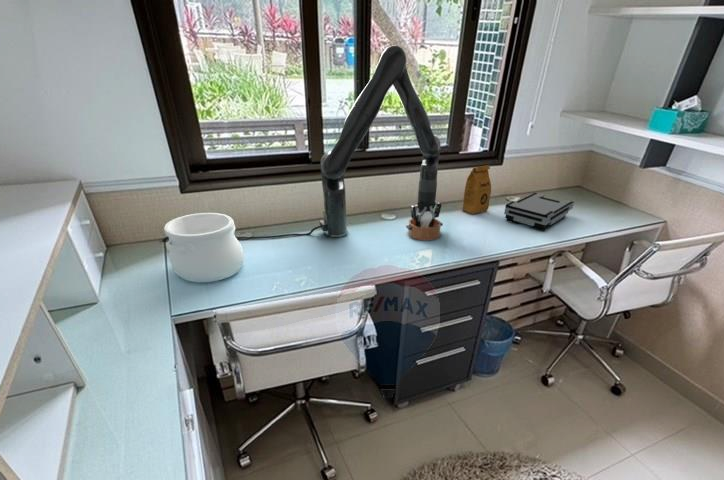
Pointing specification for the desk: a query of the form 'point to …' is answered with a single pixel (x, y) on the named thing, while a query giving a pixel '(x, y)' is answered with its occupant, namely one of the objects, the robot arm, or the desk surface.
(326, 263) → the desk surface
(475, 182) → the coffee package
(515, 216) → the game console
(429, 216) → the lightbulb
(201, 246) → the pot
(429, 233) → the copper pot
